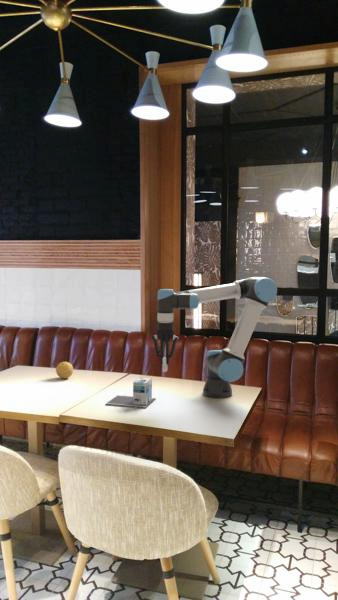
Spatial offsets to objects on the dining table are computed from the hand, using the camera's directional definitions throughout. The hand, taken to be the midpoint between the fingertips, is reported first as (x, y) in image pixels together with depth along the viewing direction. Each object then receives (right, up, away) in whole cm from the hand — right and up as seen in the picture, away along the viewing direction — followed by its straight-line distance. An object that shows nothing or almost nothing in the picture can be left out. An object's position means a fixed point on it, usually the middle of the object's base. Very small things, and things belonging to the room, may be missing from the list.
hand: (164, 371), depth 226 cm
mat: (-17, -16, +5) cm, 24 cm away
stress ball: (-59, -13, +54) cm, 81 cm away
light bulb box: (-11, -16, +4) cm, 19 cm away
